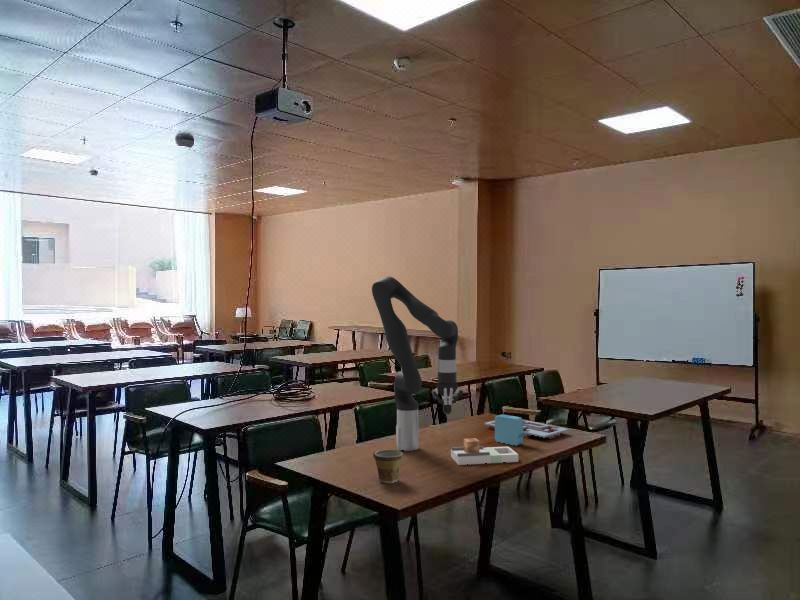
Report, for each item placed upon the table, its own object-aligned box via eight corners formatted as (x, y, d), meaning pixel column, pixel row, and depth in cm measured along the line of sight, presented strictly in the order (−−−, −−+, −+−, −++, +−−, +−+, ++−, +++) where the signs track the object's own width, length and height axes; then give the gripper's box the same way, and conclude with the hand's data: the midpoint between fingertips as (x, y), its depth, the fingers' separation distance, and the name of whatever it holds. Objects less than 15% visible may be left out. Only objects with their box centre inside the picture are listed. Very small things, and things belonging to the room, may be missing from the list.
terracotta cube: (467, 454, 232) (467, 441, 232) (463, 450, 237) (463, 438, 237) (479, 453, 233) (479, 441, 233) (475, 450, 238) (475, 438, 238)
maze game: (484, 429, 289) (484, 422, 289) (509, 423, 301) (509, 417, 301) (543, 442, 262) (543, 435, 262) (568, 435, 275) (568, 429, 275)
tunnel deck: (458, 464, 228) (458, 454, 228) (451, 456, 240) (451, 446, 240) (518, 461, 232) (518, 451, 232) (508, 453, 244) (508, 444, 244)
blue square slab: (523, 444, 258) (523, 417, 258) (517, 446, 255) (517, 419, 255) (499, 440, 266) (499, 413, 266) (494, 441, 263) (494, 415, 263)
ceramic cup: (408, 480, 209) (408, 453, 209) (387, 487, 202) (387, 458, 202) (383, 472, 219) (383, 446, 218) (363, 479, 212) (363, 451, 211)
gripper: (432, 372, 228) (432, 416, 228) (465, 371, 230) (465, 415, 231) (428, 369, 236) (429, 412, 236) (460, 368, 238) (460, 411, 238)
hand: (447, 413), depth 233 cm, fingers closed
